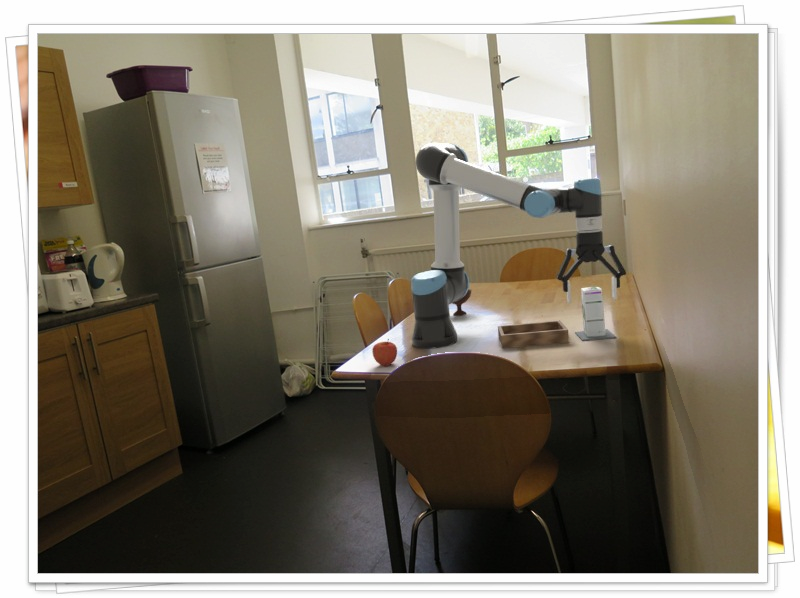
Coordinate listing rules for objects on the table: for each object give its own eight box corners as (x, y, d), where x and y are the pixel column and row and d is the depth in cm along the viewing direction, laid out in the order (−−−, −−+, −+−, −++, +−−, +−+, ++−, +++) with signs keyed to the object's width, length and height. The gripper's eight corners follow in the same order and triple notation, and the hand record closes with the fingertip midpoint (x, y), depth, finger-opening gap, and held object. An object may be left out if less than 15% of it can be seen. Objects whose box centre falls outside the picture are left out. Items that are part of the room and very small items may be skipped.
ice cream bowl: (465, 310, 237) (462, 274, 235) (477, 314, 227) (474, 277, 224) (442, 314, 234) (438, 278, 232) (453, 318, 224) (449, 281, 221)
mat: (582, 340, 172) (582, 339, 172) (575, 333, 182) (575, 331, 181) (616, 338, 171) (616, 336, 171) (607, 330, 181) (607, 329, 180)
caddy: (502, 348, 174) (501, 335, 173) (498, 337, 187) (497, 326, 186) (569, 342, 172) (568, 329, 171) (560, 332, 184) (560, 320, 184)
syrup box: (606, 335, 173) (603, 288, 170) (585, 337, 174) (583, 290, 171) (602, 331, 178) (600, 285, 176) (582, 332, 179) (580, 287, 177)
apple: (376, 362, 174) (372, 337, 173) (399, 360, 173) (396, 335, 172) (372, 369, 167) (369, 343, 166) (397, 367, 166) (394, 341, 165)
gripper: (549, 235, 168) (552, 305, 172) (636, 228, 166) (637, 299, 170) (544, 233, 176) (548, 301, 179) (628, 226, 173) (629, 294, 177)
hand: (591, 300), depth 175 cm, fingers open, 13 cm apart
